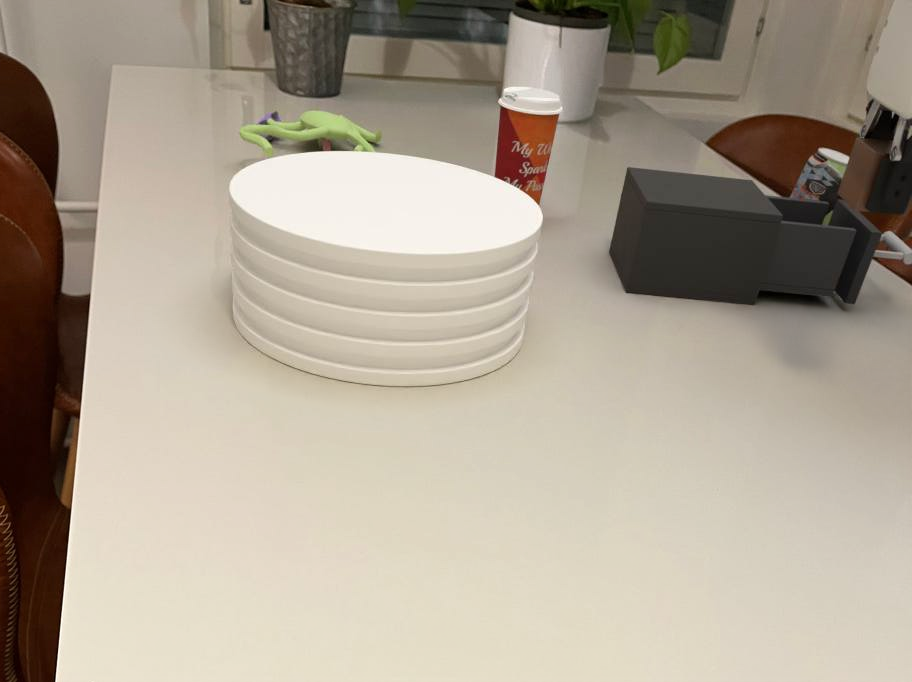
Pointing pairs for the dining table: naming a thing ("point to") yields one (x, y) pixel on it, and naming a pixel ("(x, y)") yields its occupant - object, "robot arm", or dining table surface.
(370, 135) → the figurine
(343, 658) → the dining table surface
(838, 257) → the dark grey panel
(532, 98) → the paper cup
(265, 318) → the plate stack
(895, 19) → the robot arm
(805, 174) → the beverage can
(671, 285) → the dark grey box
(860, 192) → the block
